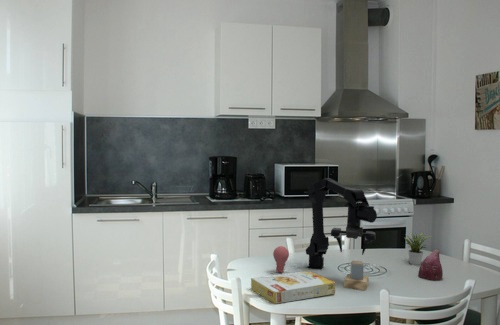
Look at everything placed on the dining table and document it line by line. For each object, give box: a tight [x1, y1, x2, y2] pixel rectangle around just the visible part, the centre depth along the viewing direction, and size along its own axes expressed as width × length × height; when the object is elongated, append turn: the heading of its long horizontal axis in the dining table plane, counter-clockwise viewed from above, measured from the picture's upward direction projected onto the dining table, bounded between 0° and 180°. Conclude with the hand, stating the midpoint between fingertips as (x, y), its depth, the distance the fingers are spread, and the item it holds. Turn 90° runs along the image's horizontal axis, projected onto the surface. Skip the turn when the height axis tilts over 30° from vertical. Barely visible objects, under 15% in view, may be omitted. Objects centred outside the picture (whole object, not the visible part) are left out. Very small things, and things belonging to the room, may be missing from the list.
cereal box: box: [250, 270, 336, 305], centre depth 195 cm, size 20×6×28 cm
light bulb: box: [272, 245, 290, 273], centre depth 221 cm, size 7×7×12 cm
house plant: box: [404, 232, 432, 266], centre depth 244 cm, size 14×14×16 cm
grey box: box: [349, 260, 365, 280], centre depth 204 cm, size 5×5×7 cm
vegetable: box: [417, 248, 444, 282], centre depth 220 cm, size 10×10×15 cm
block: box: [343, 273, 370, 291], centre depth 204 cm, size 9×9×4 cm
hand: (351, 253), depth 212 cm, fingers open, 9 cm apart
